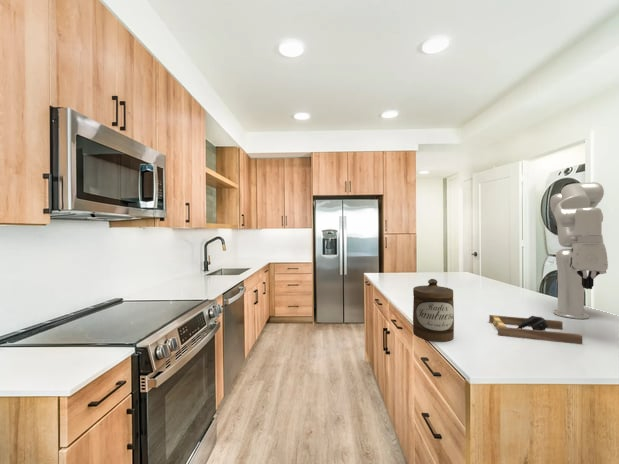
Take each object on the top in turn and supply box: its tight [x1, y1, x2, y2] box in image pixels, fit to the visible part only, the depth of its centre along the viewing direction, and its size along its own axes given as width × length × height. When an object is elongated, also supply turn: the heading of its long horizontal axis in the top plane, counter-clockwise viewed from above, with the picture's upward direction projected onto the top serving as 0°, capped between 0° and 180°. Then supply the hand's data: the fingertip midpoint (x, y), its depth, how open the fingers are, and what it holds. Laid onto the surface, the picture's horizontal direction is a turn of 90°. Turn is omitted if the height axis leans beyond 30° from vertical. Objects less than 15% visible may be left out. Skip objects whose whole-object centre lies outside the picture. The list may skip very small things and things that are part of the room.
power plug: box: [517, 315, 549, 331], centre depth 122 cm, size 6×8×12 cm
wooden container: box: [412, 278, 455, 343], centre depth 120 cm, size 15×15×22 cm
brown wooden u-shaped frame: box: [488, 314, 583, 345], centre depth 123 cm, size 18×26×3 cm
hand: (587, 288), depth 116 cm, fingers closed
